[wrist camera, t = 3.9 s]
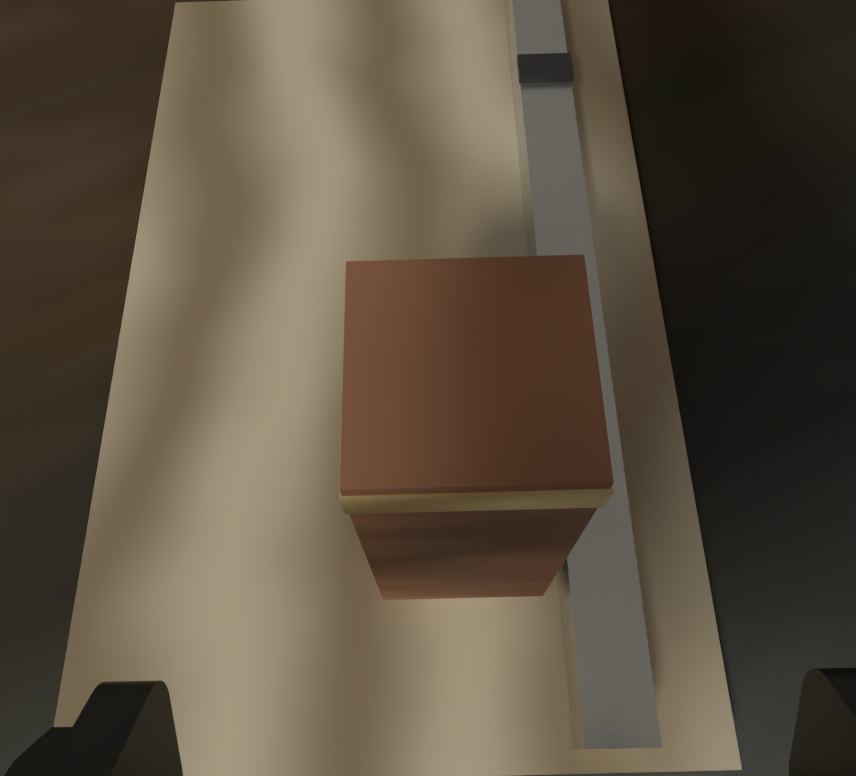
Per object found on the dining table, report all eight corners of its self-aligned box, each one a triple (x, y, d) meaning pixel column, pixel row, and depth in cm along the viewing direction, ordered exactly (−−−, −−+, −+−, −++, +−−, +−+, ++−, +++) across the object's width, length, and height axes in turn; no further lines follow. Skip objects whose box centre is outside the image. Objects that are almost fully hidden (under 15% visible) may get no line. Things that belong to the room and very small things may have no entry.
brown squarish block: (381, 602, 19) (336, 493, 11) (381, 448, 21) (343, 259, 13) (545, 598, 19) (617, 485, 11) (532, 444, 21) (586, 251, 13)
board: (71, 784, 19) (43, 786, 18) (187, 36, 30) (175, 2, 29) (720, 768, 19) (741, 769, 18) (598, 23, 30) (605, -12, 29)
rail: (571, 750, 18) (585, 749, 16) (502, 1, 29) (506, -51, 27) (644, 747, 18) (667, 747, 16) (549, -1, 29) (556, -52, 27)
